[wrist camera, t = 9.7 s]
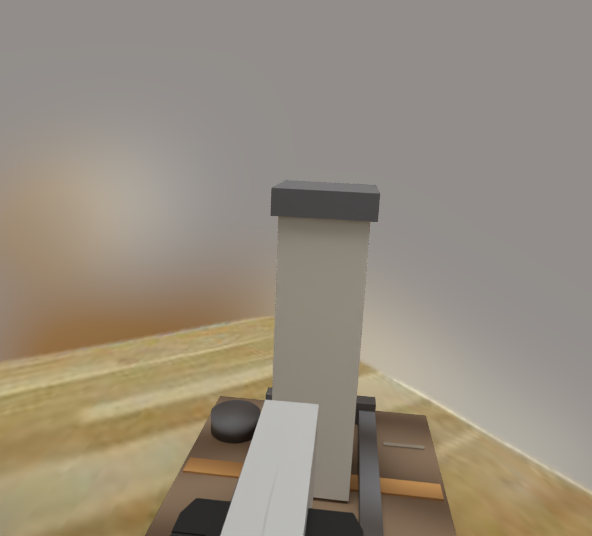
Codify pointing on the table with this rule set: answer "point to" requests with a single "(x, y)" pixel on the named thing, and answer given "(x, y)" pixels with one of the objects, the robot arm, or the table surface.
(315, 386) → the grey rectangular block
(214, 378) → the table surface
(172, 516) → the brown board with rails
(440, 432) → the table surface
